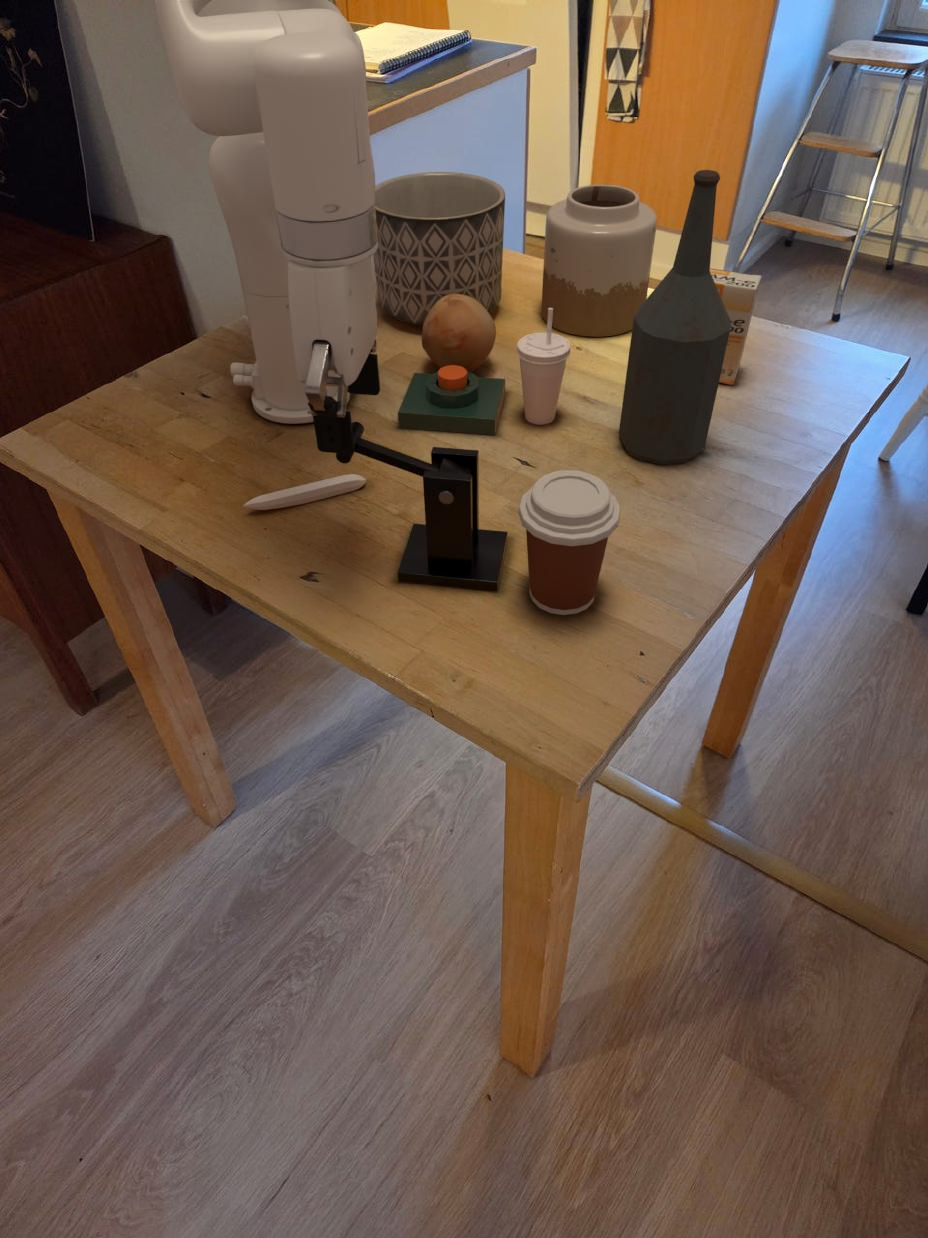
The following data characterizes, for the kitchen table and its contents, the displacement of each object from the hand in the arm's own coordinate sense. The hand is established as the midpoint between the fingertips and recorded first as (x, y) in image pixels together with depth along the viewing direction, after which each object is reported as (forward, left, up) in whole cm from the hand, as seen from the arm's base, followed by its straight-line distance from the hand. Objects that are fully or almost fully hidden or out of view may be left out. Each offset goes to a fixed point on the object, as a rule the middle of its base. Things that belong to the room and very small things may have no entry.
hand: (350, 420), depth 77 cm
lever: (+5, -1, -5) cm, 7 cm away
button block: (+4, +28, -15) cm, 33 cm away
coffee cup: (+21, -4, -15) cm, 26 cm away
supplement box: (+36, +42, -15) cm, 58 cm away
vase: (+20, +58, -15) cm, 64 cm away
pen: (-9, +7, -15) cm, 19 cm away
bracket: (+9, -1, -15) cm, 18 cm away
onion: (+3, +39, -15) cm, 43 cm away
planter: (-3, +57, -15) cm, 60 cm away
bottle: (+30, +24, -15) cm, 42 cm away
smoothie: (+15, +28, -15) cm, 36 cm away
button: (+4, +28, -12) cm, 31 cm away
